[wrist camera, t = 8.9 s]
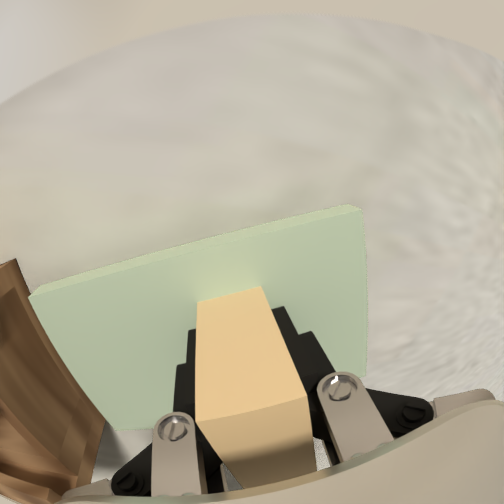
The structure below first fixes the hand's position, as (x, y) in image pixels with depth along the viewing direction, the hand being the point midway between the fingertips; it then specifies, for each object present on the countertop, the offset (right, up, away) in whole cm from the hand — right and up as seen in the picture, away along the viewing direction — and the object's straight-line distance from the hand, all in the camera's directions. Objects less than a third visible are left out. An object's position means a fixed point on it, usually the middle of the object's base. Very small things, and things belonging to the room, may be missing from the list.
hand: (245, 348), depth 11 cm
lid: (-2, 0, +1) cm, 2 cm away
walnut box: (-19, -4, +2) cm, 19 cm away
